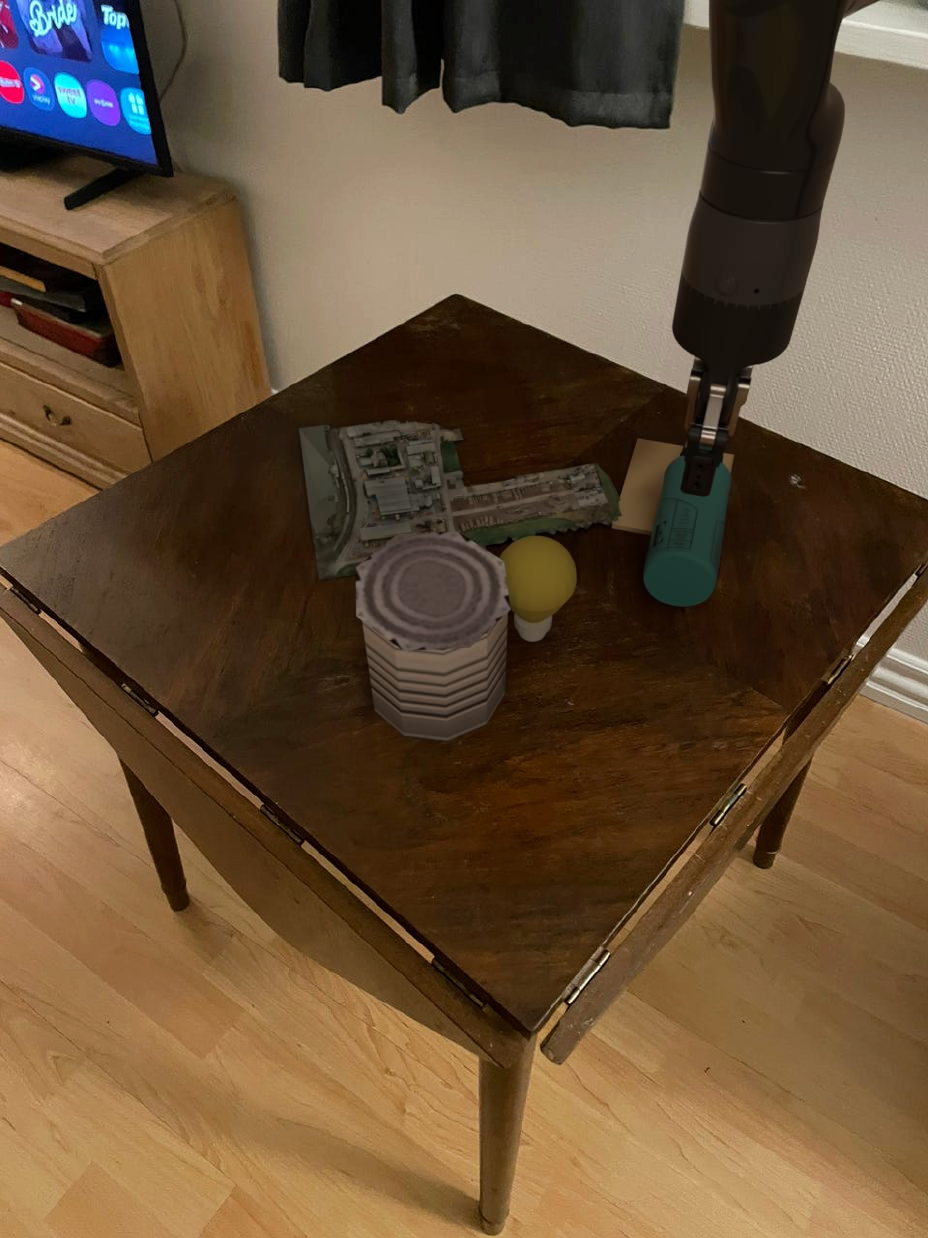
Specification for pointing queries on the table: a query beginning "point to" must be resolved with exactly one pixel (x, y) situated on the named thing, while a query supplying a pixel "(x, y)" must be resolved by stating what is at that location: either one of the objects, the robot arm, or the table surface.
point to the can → (434, 632)
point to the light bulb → (537, 583)
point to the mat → (647, 484)
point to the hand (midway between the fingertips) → (695, 488)
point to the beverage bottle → (686, 539)
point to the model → (430, 493)
